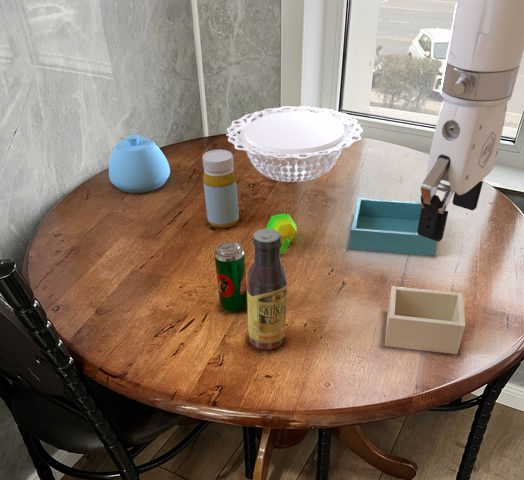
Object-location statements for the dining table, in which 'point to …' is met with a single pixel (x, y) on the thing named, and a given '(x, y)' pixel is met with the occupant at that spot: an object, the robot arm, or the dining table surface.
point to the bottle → (220, 189)
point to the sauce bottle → (266, 292)
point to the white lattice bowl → (294, 140)
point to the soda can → (231, 276)
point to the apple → (283, 229)
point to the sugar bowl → (138, 165)
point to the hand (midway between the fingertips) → (447, 221)
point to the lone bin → (425, 320)
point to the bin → (389, 227)
